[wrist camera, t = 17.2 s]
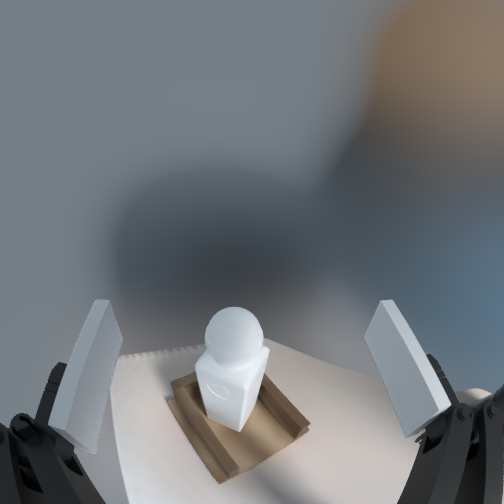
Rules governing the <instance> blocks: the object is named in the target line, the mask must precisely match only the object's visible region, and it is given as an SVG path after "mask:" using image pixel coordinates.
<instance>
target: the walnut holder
mask: <svg viewBox="0 0 504 504" xmlns="http://www.w3.org/2000/svg"><path fill="white" fill-rule="evenodd" d="M170 383H171V386H172V389H173V393H174V396H175V398H173V399H170V400H168V401H167V402H168V405H169V406H170V408H171V410H172V412H173V414H174V415H175V417H176V419H177V421H178V422H179V424H180V426H181V427H182V429H183V431H184V432H185V434H186V436H187V437H188V439H189V440H190V442H191V444H192V445H193V447H194V448H195V450H196V451H197V453H198V454H199V456H200V457H201V459H202V460H203V462H204V463H205V465H206V466H207V468H208V469H209V470H210V472H211V473H212V475H213V476H214V477H215V479H216V480H217V481H218V483H219V484H221V483H223V482H225V481H227V480H229V479H231V478H233V477H235V476H237V475H239V474H241V473H243V472H245V471H246V470H248V469H250V468H252V467H254V466H255V465H257V464H259V463H261V462H262V461H264V460H266V459H267V458H269V457H271V456H272V455H274V454H275V453H277V452H279V451H280V450H282V449H283V448H285V447H286V446H288V445H289V444H291V443H292V442H294V441H295V440H297V439H298V438H300V437H301V436H303V435H304V434H305V433H307V432H308V431H309V428H308V426H309V424H310V422H309V421H308V420H307V419H306V418H305V417H304V416H303V415H302V414H301V413H300V412H299V411H298V410H297V409H296V408H295V406H294V405H293V404H292V403H291V402H290V401H289V400H288V399H287V398H286V397H285V396H284V395H283V394H282V392H281V391H280V390H279V389H278V388H277V387H276V386H275V385H274V384H273V382H272V381H271V380H270V379H269V378H268V377H267V376H266V375H265V373H264V375H263V378H262V382H261V386H260V389H259V393H258V396H257V400H256V403H255V406H254V408H253V410H252V412H251V414H250V416H249V417H248V419H247V421H246V423H245V425H244V426H243V428H242V430H241V431H240V432H237V431H235V430H233V429H231V428H228V427H226V426H224V425H222V424H220V423H217V422H215V421H213V420H211V419H209V418H208V417H207V414H206V411H205V407H204V403H203V399H202V395H201V391H200V387H199V383H198V379H197V375H196V372H194V373H192V374H190V375H187V376H185V377H182V378H180V379H177V380H175V381H172V382H170Z"/></svg>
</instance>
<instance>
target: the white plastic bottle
mask: <svg viewBox="0 0 504 504" xmlns="http://www.w3.org/2000/svg"><path fill="white" fill-rule="evenodd" d="M205 343H206V346H207V349H206V351H205V352H204V353H203V354H202V355H201V357H200V358H199V359H198V360H197V362H196V363H195V371H196V375H197V379H198V383H199V387H200V391H201V395H202V399H203V403H204V407H205V411H206V414H207V417H208V418H209V419H211V420H213V421H215V422H217V423H220V424H222V425H224V426H226V427H228V428H231V429H233V430H235V431H237V432H240V431H241V430H242V428H243V426H244V425H245V423H246V421H247V419H248V417H249V416H250V414H251V412H252V410H253V408H254V406H255V403H256V400H257V396H258V393H259V389H260V386H261V382H262V378H263V375H264V371H265V367H266V364H267V360H268V356H269V352H270V350H269V348H268V347H267V346H265V345H263V332H262V329H261V327H260V324H259V322H258V320H257V319H256V317H255V316H254V315H253V314H252V313H251V312H249V311H248V310H246V309H243V308H240V307H228V308H225V309H222V310H221V311H219V312H217V314H215V315H214V316H213V318H212V319H211V321H210V323H209V325H208V326H207V328H206V333H205Z"/></svg>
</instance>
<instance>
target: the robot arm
mask: <svg viewBox="0 0 504 504" xmlns="http://www.w3.org/2000/svg"><path fill="white" fill-rule="evenodd" d="M364 339H365V341H366V343H367V346H368V348H369V350H370V352H371V354H372V357H373V359H374V361H375V364H376V366H377V368H378V370H379V373H380V375H381V377H382V380H383V382H384V385H385V387H386V389H387V392H388V394H389V397H390V399H391V402H392V404H393V407H394V409H395V412H396V414H397V417H398V419H399V422H400V425H401V427H402V430H403V433H404V435H405V438H407V437H410V436H412V435H415V434H417V433H419V432H420V431H421V430H423V429H424V428H425V429H426V432H424V433H423V434H422V435H420V436H419V437H418V438H417V439H416V441H415V442H416V443H417V442H418V441H420V440H421V439H422V441H421V442H420V443H419V444H420V447H419V450H418V453H417V456H416V459H415V462H414V465H413V467H412V470H411V473H410V475H409V478H408V480H407V483H406V485H405V487H404V490H403V492H402V494H401V496H400V498H399V501H398V503H397V504H502V494H503V476H504V384H503V385H502V386H501V387H500V388H499V389H498V390H497V391H496V392H495V393H493V394H491V395H489V396H487V397H485V398H483V399H481V400H478V401H476V402H475V403H473V404H472V405H471V406H470V407H469V406H468V405H467V404H464V403H460V402H459V401H458V399H457V397H456V395H455V393H454V391H453V390H452V388H451V386H450V384H449V382H448V380H447V378H445V374H444V373H443V371H442V369H441V367H440V365H439V364H438V362H437V360H436V359H435V358H434V357H432V356H431V355H430V354H428V355H425V353H424V351H423V350H422V348H421V346H420V344H419V342H418V341H417V339H416V337H415V336H414V334H413V332H412V331H411V329H410V327H409V326H408V324H407V322H406V321H405V319H404V318H403V316H402V314H401V313H400V311H399V310H398V308H397V306H396V305H395V303H394V302H393V300H382V301H380V303H379V305H378V307H377V310H376V312H375V314H374V316H373V318H372V320H371V323H370V325H369V327H368V329H367V331H366V333H365V335H364ZM122 341H123V338H122V335H121V332H120V329H119V326H118V324H117V321H116V318H115V315H114V312H113V309H112V306H111V303H110V300H101V299H96V300H95V302H94V304H93V306H92V308H91V310H90V312H89V314H88V317H87V319H86V321H85V323H84V325H83V328H82V330H81V332H80V335H79V337H78V340H77V342H76V344H75V347H74V349H73V351H72V354H71V357H70V359H69V362H68V364H65V363H61V362H59V363H58V364H57V365H56V366H55V367H54V368H53V369H52V371H51V373H50V376H49V379H48V383H47V384H46V387H45V391H44V393H43V395H42V398H41V401H40V405H39V408H38V410H37V414H36V417H35V419H34V420H33V418H31V417H30V416H29V415H28V414H24V413H20V414H17V415H16V416H14V417H13V419H12V420H11V423H10V428H6V427H5V426H4V425H2V424H1V423H0V504H106V503H105V502H104V500H103V499H102V497H101V496H100V494H99V493H98V491H97V490H96V488H95V487H94V485H93V484H92V482H91V480H90V479H89V477H88V475H87V474H86V472H85V470H84V469H83V467H82V465H81V464H80V461H79V460H78V458H77V456H76V454H75V453H74V446H75V447H76V448H78V449H79V450H81V451H84V452H87V453H91V454H94V455H96V452H97V445H98V441H99V435H100V430H101V425H102V420H103V415H104V410H105V406H106V401H107V397H108V393H109V389H110V385H111V381H112V377H113V373H114V369H115V366H116V362H117V358H118V355H119V351H120V348H121V345H122Z"/></svg>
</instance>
